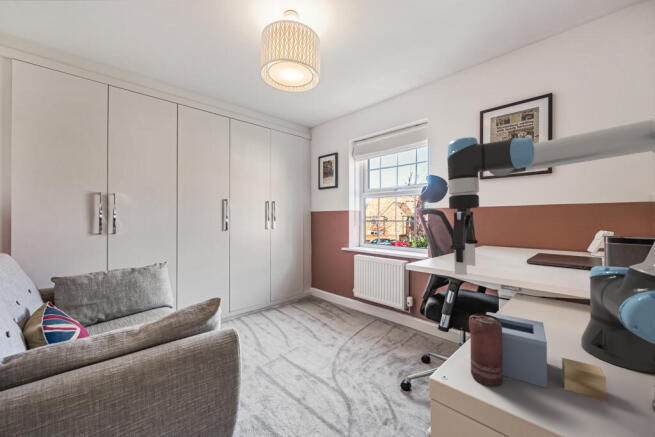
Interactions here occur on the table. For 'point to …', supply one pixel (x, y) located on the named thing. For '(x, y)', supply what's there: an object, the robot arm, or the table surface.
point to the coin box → (523, 349)
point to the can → (486, 349)
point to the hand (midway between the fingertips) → (465, 269)
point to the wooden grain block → (584, 378)
